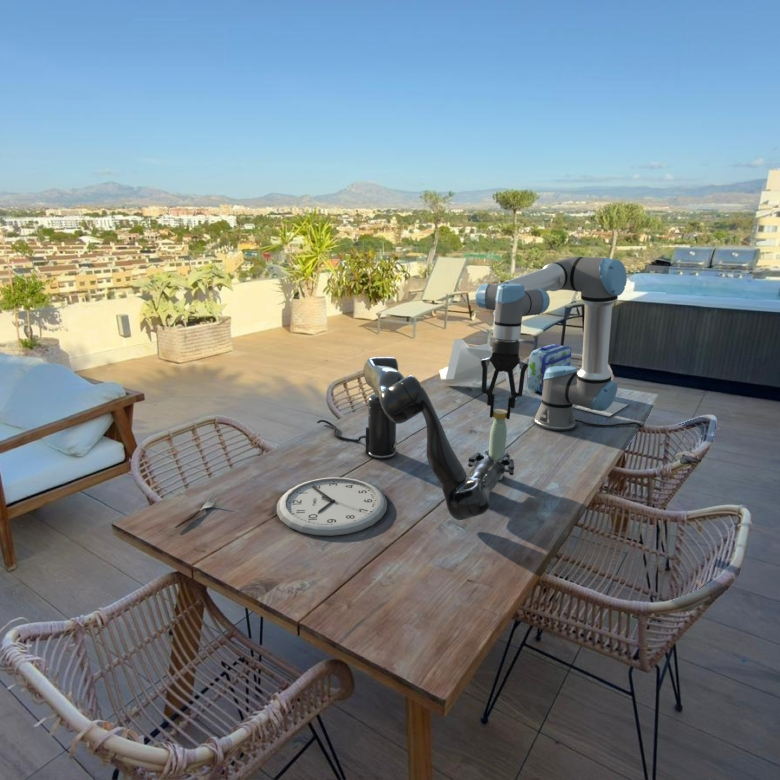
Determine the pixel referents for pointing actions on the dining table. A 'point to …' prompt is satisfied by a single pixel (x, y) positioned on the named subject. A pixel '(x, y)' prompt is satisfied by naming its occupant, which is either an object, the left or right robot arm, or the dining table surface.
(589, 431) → the dining table surface
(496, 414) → the cap
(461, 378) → the white plastic object
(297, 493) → the wall clock
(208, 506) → the fork
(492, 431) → the bottle
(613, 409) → the invitation card
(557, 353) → the lunch box
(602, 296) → the right robot arm
